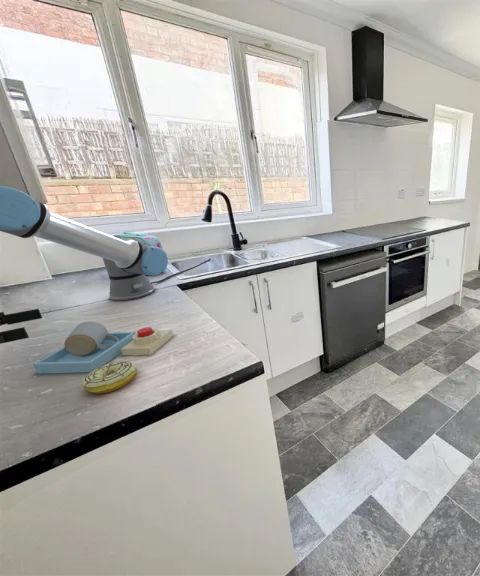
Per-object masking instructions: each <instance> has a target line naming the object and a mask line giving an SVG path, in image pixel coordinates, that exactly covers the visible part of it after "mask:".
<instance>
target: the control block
mask: <svg viewBox="0 0 480 576" xmlns="http://www.w3.org/2000/svg"><path fill="white" fill-rule="evenodd" d="M152 330H153V334H152V335H149V336H146V337H139V336H138V333H137V332H136V334H134V335H133V337H132V339H133V341H131V342H130V343H128V344H127V345H126V346H124V347H123V348H121V354H122V356H148V355H149V356H150V355H152V354H154V353H155V352H156V351H157V350H158V349H160V348H161V347H162V346H163V345H164V344H165V343H167V342H168V341H169V340H170V339H172V338H173V337H174V333H173V330H172V329H157V328H152Z"/></svg>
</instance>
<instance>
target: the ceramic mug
mask: <svg viewBox="0 0 480 576" xmlns="http://www.w3.org/2000/svg"><path fill="white" fill-rule="evenodd" d="M108 333H109V331H108V329H107V327H106V326H105V325H103V324H102V323H99V322H96V321H84V322H81V323H79V324H77V325H76V326H75V328H74V329H73V330H72V331H71V332H70V334H69V335H68V336H67V337H66V338H65V341H64V344H63V347H64V346H65V349H66V350H67V351H68V352H69V353H71V354H73V355H77V356H85V355H89V354H91V353H92V352H94V351H95V350H96V349H108V348H110V347H111V346H113V345H114V344H116V343H117V342H119V339H118V338H117V337H115V336H113V335H109V334H108ZM106 339H110V340H113V341H115V342H116V343H114V344H110V345H102V343H103V342H104V341H105V340H106Z"/></svg>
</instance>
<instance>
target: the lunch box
mask: <svg viewBox="0 0 480 576" xmlns="http://www.w3.org/2000/svg"><path fill="white" fill-rule="evenodd" d="M112 236H114V237H116V238H119V239H121V240H124V241H126V240H135V241H137V242H140V243H143V244H145V245H148V246H156V247H159V248H161V249H163V246H162V243H161V240H160V239H159V237H157V236H156V235H153V234H146V233H137V232H131V231H129V230H128V231H123V233H118V234H113V235H112ZM167 267H168V266H167ZM167 267H166V269H165V270H164V271H163V272H165V271H166V270H167Z"/></svg>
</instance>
